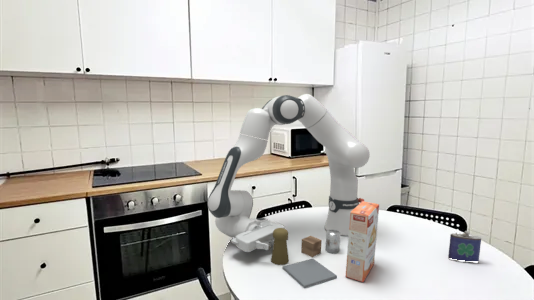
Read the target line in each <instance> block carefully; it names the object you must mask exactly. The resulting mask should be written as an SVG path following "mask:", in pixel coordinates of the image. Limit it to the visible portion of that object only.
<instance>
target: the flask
mask: <svg viewBox="0 0 534 300" xmlns="http://www.w3.org/2000/svg"><path fill="white" fill-rule="evenodd" d="M470 234H471V233H470V232H469V231H468V230H465V231H464V233H458V232H455V233H453V232H452V233H450V234H449V235H450V237H449V248H448V255H447V256H448V259H449V258H452V259H457V260H465V261H479V262H480V252H481V244H482V238H481V236H478V235H470Z"/></svg>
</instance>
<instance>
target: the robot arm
mask: <svg viewBox="0 0 534 300" xmlns="http://www.w3.org/2000/svg"><path fill="white" fill-rule="evenodd" d="M296 121H298V122H300V123H301V124H302V125H303V126H304V128H305V129H306V130H307V131H308V132H309V133H310V134H311V135H312V137H313V138H314V139H315V140H316V141H317V142H318V143H319V144H321V145H322V146H323V147H324V152H325V154H326V157H327V161H328V168H329V174H330V186H329V187H330V189H329V191H330V192H329V196H328V212H327V217H326V222H325V225H324V229H325V230H326V231H327V230H331V229H332V230H337V231H339V232H340V236H349V222H350V212H351V211H352V210H353V209H354V208H356V207H357V206H358V205H359V204H360V203H361V202H362V201H364V202H365V199H364V198H361V197H359V198H358V186H359V185H358V183H359V182H358V181H359V180H358V178H357V175H356V173H355V169H358V168H363V167H364V166H366V165H367V163H368V162H369V160H370V157H371V156H370V150H369V148H368V146H366V145H365V144H364V143H362V141H361V140H359V139H357V138H356V137H355V136H354V135H353V134H352V133H351V132H349V130H348V129H346V128H345V127H344V126H342V124H341V123H339V122H338V120H336V118H335V117H334V116H333V115H332V114H331V112H329V110H328V109H327V108H326V107H325V106H324V105H323V104H322V103H321V102H320V101H319V100H318V99H316V97H315V96H314V95H312V94H309V93H303V94H300V96H298V97H296V96H293V95H290V94H289V95H288V94H284V95H278V96H275V97H273V98H271V99H270V100H268V101H267V102H266V103H265V104H264V105H263V106H262V107H261V108H259V107H254V108H251V109H249V110H248V111H247V112H246V115H245V117H244V120H243V122H242V125H241V128H240V131H239V136H238V139H237V140H236V143H235V144H234V146H233V147H232V148H231V149H229V151H228V152H227V153H226V156H225V159H224V161H223V164H222V166H221V169H220V172H219V175H218V177H217V180H216V182H215V184H214V187H213V189H212V190H211V192H210V194H209V196H208V198H207V201H206V202H207V209H208V211H209V213H210V214H211V215H212V216H213V217H214V218H215V221H214V222H215V227H216V228H217V230H218V231H219V232H220V233H221V234H224V235H225V236H227V237H230V238H231V239H230V242H231V243H232V244H234V245H235V246H236V248H238V249H239V250H241V251H243V252H245V253H250V252H252V251H255V250H265V251H269V250H270V249H271V247H272V245H271V243H272V242H274V238H273V231H274V230H275V229H276V228H284V229H286V226H284V225H283V224H281V223H279V222H277V221H275V220H274V221H273V220H269V218H267V217H260V218H258V217H257V218H253V217H252V218H250V217H251V214H252V211H253V207H254V200H253V197H252V195H251V194H250V193H249V191H247V190H241V189H239V190H238V189H237V190H236V189H233V190H232V187H233V185H234V181H235V178H236V175H237V173H238V171H239V169H240V168H241V167H243V166H245V165H246V164H248V163H251V162H254V161H256V160H258V159H260V158H261V157H262V156H263V155H264V154H265V152H266V149H267V145H268V140H269V136H270V132H271V130H272V128H274V126H275V125H276V126H277V125H278V126H284V125H291V124H293V123H295V122H296ZM287 241H289V237H288V238H287Z"/></svg>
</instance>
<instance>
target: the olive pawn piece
mask: <svg viewBox="0 0 534 300" xmlns="http://www.w3.org/2000/svg"><path fill="white" fill-rule="evenodd" d="M273 238H274V241H273V245H272V251H271V255H270V256H271V258H270V262H271V263H272V264H274V265H277V266H286V265H288V263H289V251H288V242H287V241H288V240H287V238H288V239H289V232H288V230H287V229H286V228H285V229H284V228H276V229H275V230H274V231H273Z"/></svg>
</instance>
